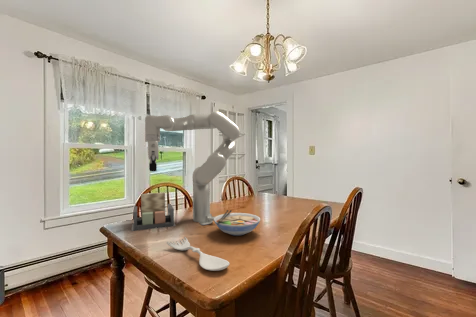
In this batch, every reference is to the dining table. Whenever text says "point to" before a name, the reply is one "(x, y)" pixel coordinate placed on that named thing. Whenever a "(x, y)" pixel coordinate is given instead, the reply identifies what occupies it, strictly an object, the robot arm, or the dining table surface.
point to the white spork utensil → (202, 256)
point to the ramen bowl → (236, 223)
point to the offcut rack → (138, 221)
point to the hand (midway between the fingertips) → (152, 170)
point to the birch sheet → (152, 203)
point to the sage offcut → (147, 218)
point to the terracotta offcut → (159, 217)
